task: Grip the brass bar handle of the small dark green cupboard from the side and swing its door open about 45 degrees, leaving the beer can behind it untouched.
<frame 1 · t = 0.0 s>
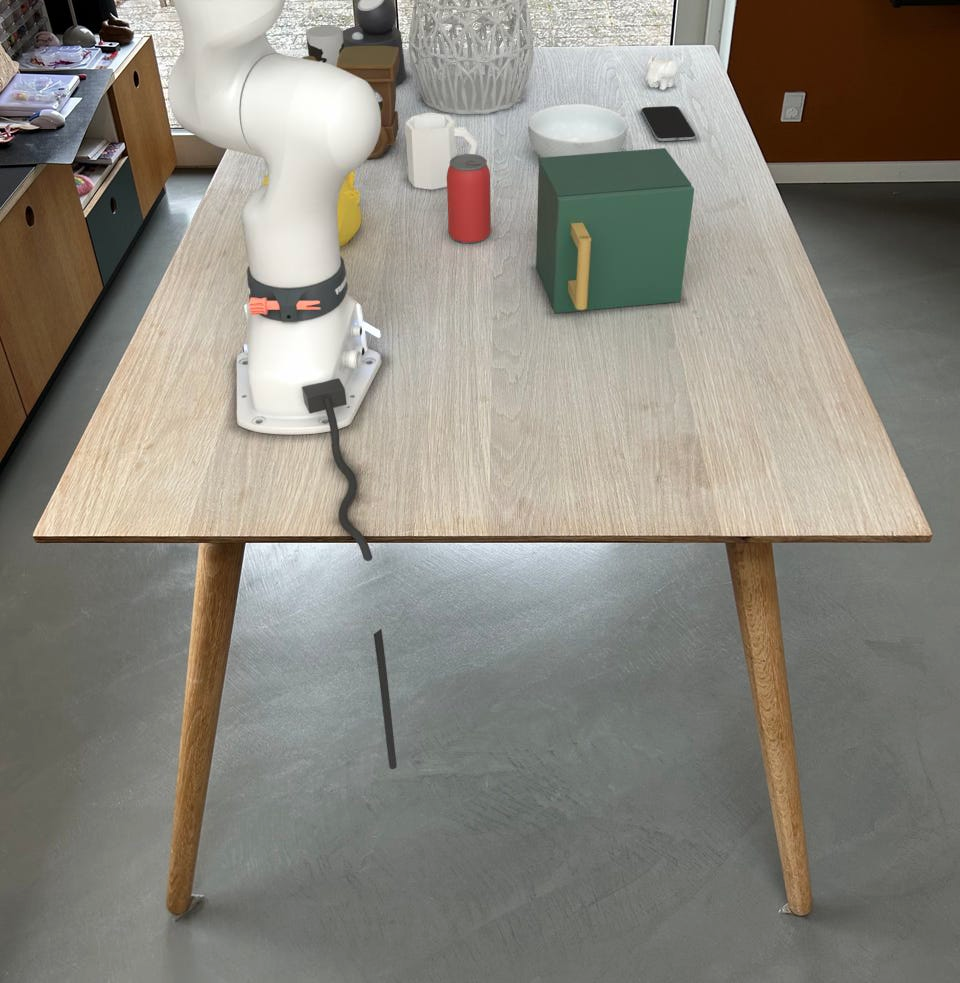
cup: (332, 112, 203), on the table
elephant figurine: (660, 88, 211), on the table
vase: (472, 97, 209), on the table
mug: (443, 179, 179), on the table
light fixture: (372, 80, 217), on the table
smartphone: (667, 126, 196), on the table
door: (626, 260, 139), point 8 cm above the table, hinge at 0.0°
wooden toy train: (347, 149, 189), on the table
cereal bowl: (575, 162, 184), on the table
teapot: (323, 236, 164), on the table
beer can: (469, 236, 163), on the table
cupboard: (604, 282, 151), on the table
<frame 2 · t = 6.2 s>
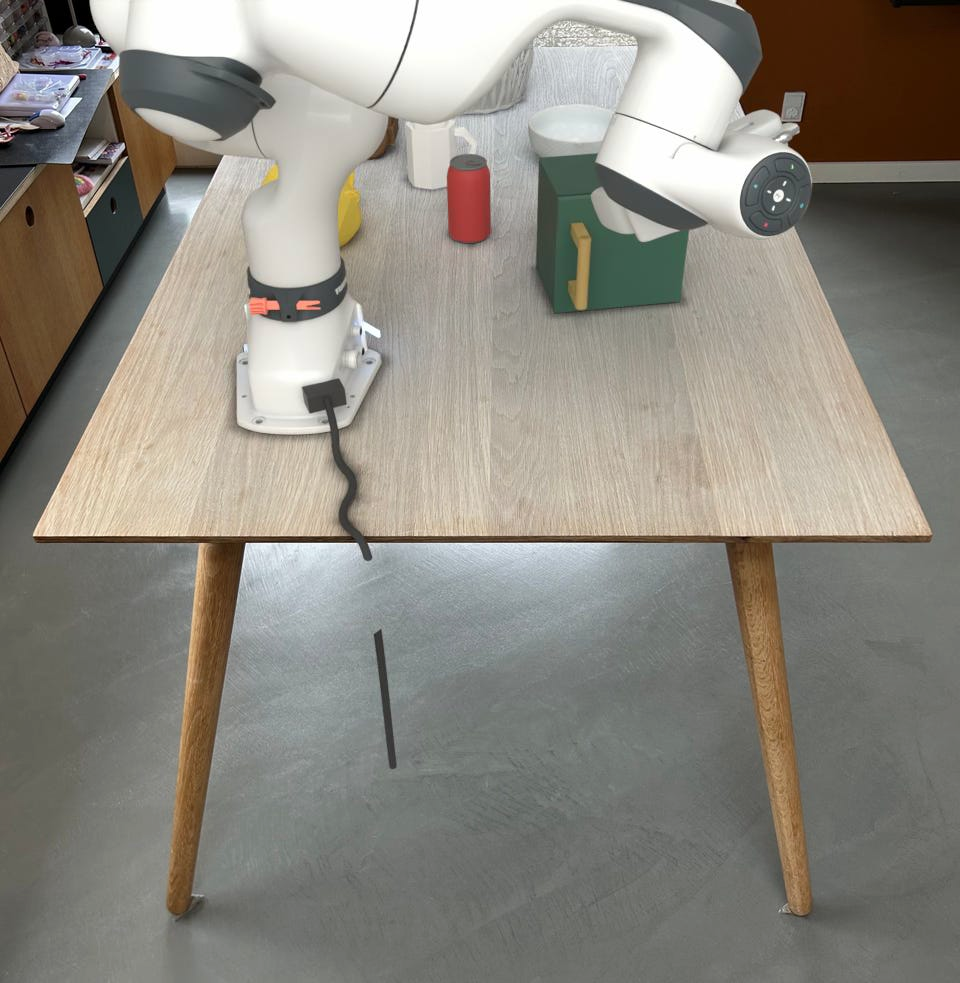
hand: (664, 162, 114), 28 cm above the table, tool tilted 75°, fingers open, 8 cm apart
nothing on the table moved.
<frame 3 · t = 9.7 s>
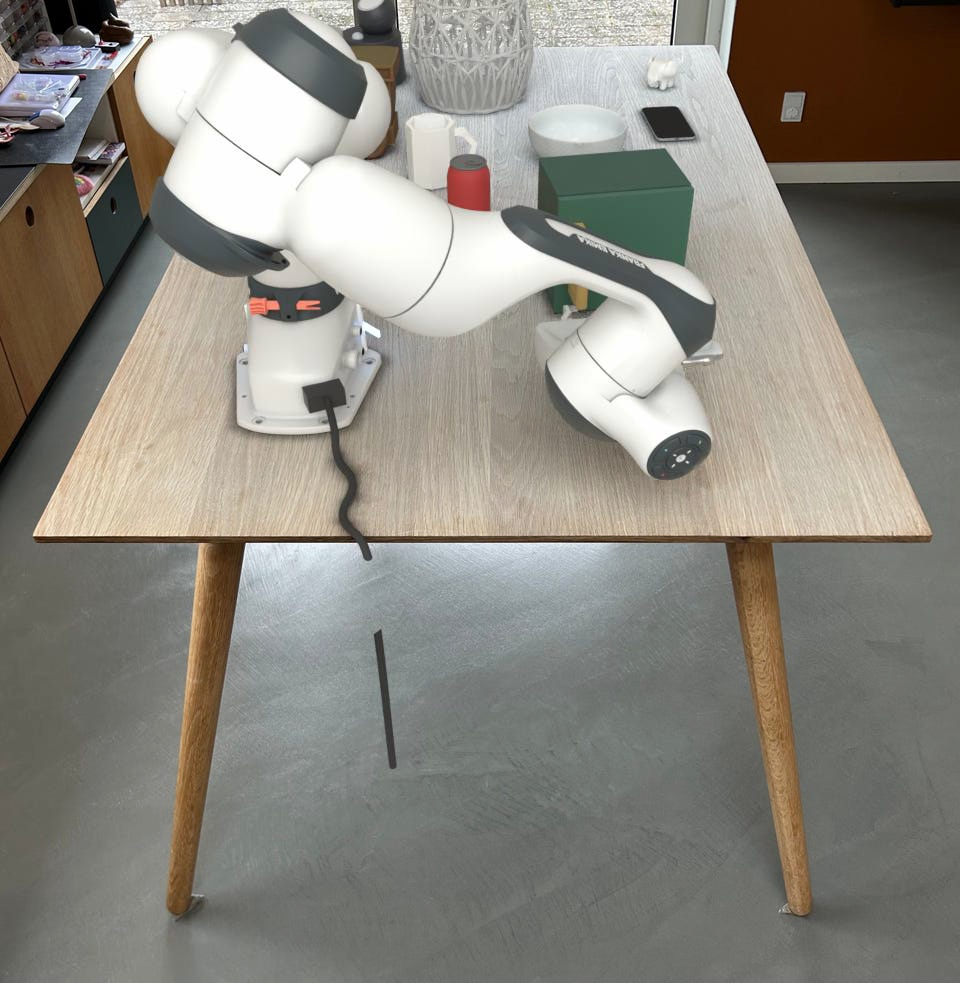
hand: (607, 306, 125), 11 cm above the table, tool horizontal, fingers open, 8 cm apart
nothing on the table moved.
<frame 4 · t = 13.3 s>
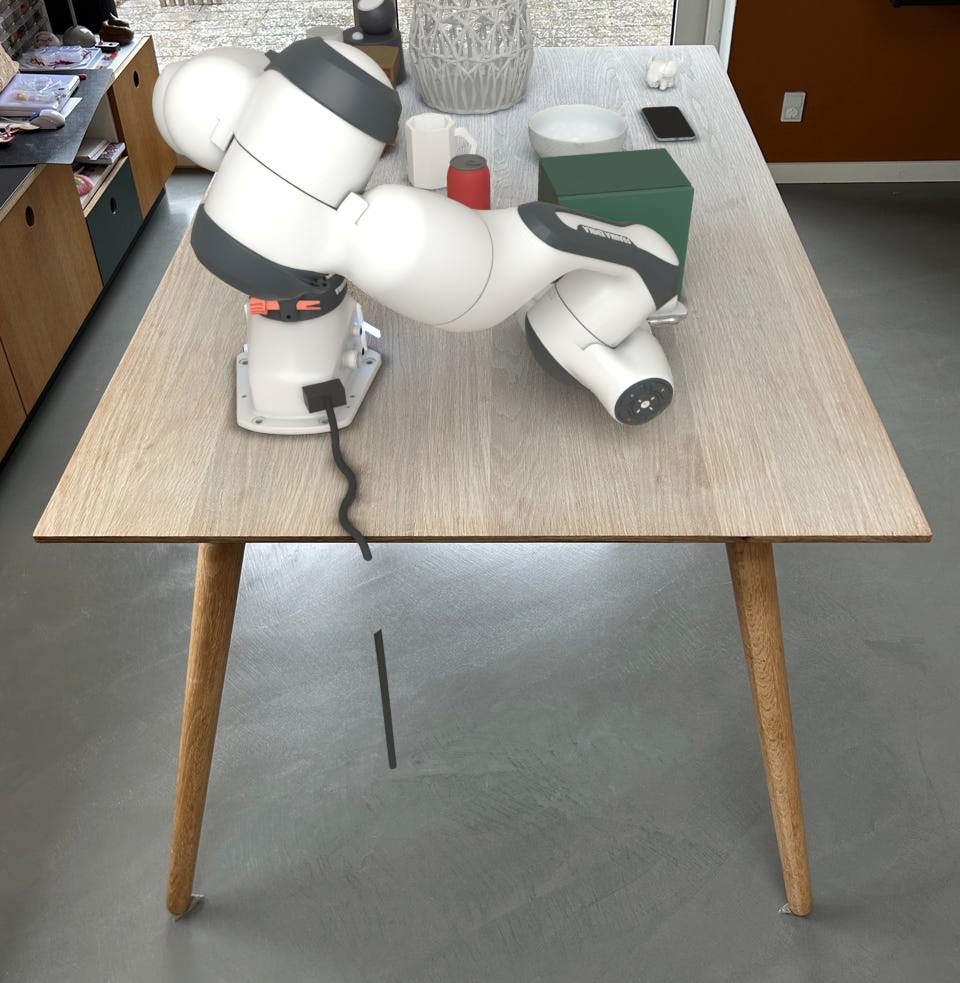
hand: (582, 273, 136), 8 cm above the table, tool horizontal, fingers closed on door, 2 cm apart
door: (626, 260, 139), point 8 cm above the table, hinge at 0.0°, touching gripper
everything else where it was.
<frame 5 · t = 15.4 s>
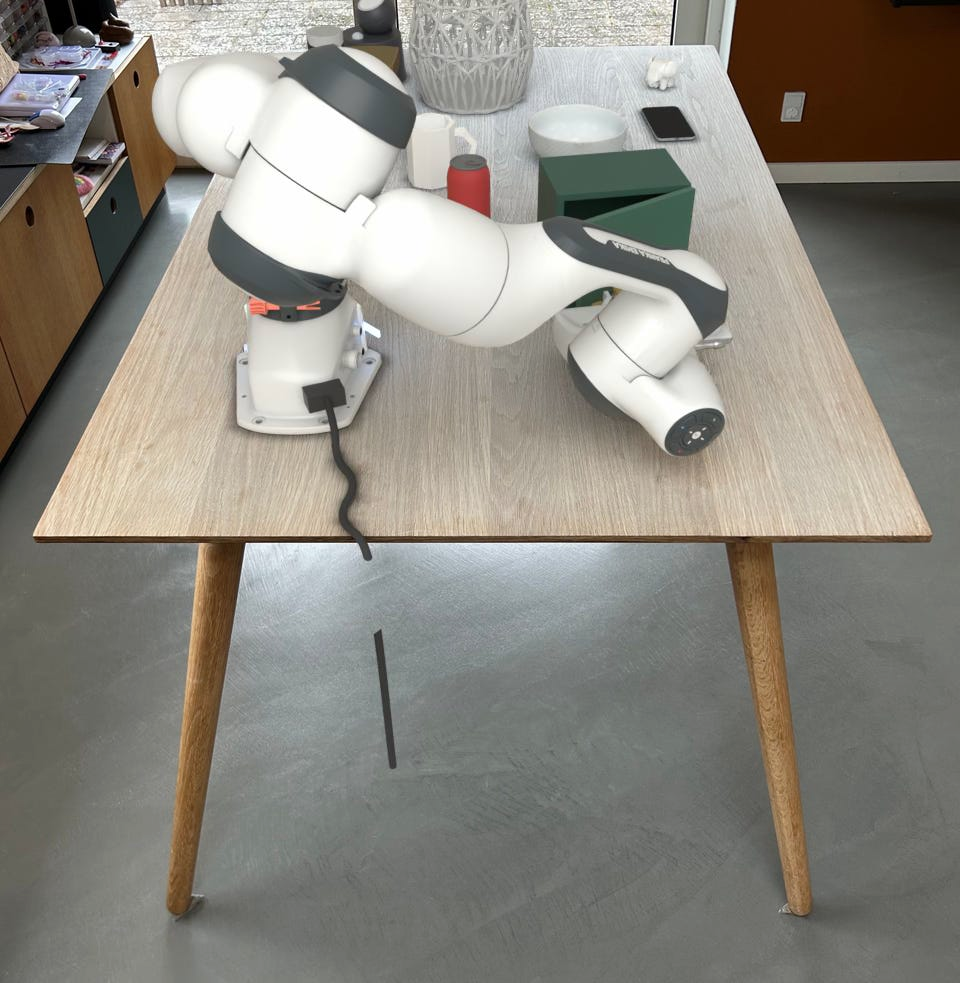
hand: (620, 294, 132), 9 cm above the table, tool horizontal, fingers closed
door: (647, 271, 136), point 8 cm above the table, hinge at 23.8°, touching gripper
everything else where it was.
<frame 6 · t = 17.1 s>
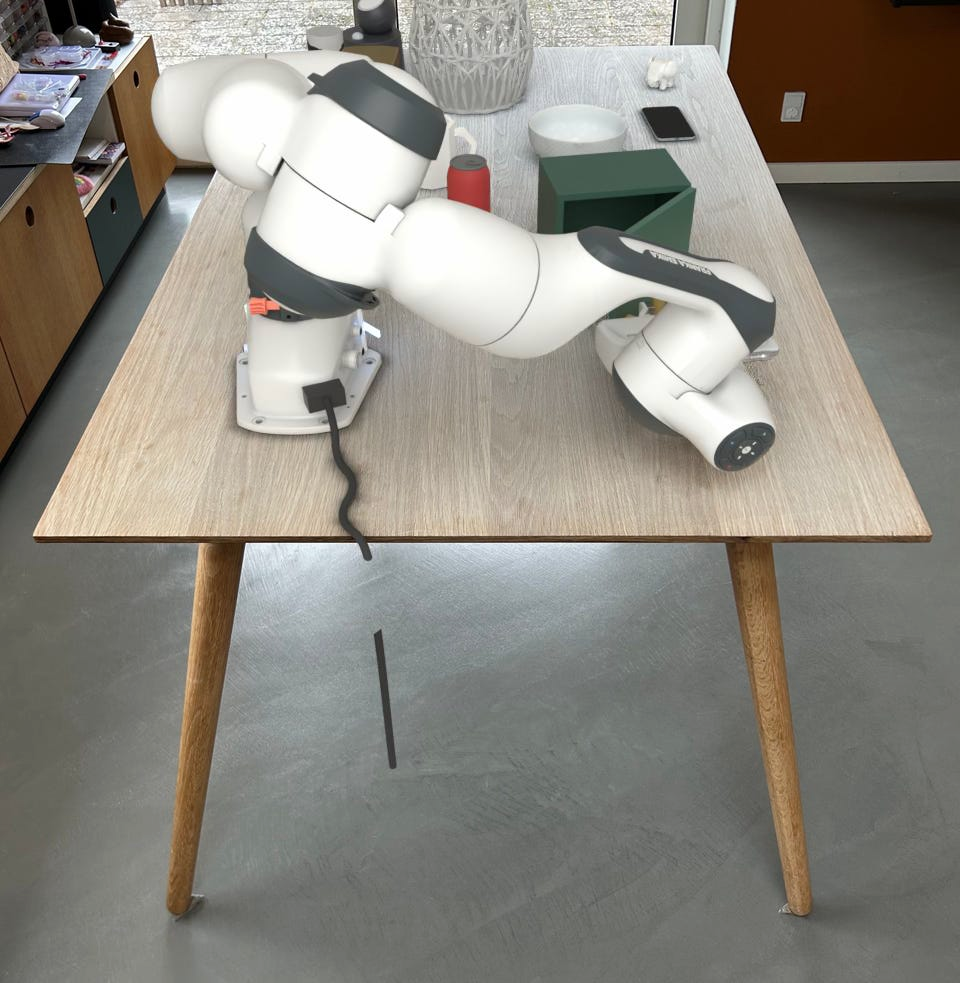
hand: (663, 304, 130), 8 cm above the table, tool horizontal, fingers open, 3 cm apart
door: (668, 277, 135), point 9 cm above the table, hinge at 42.6°
everything else where it was.
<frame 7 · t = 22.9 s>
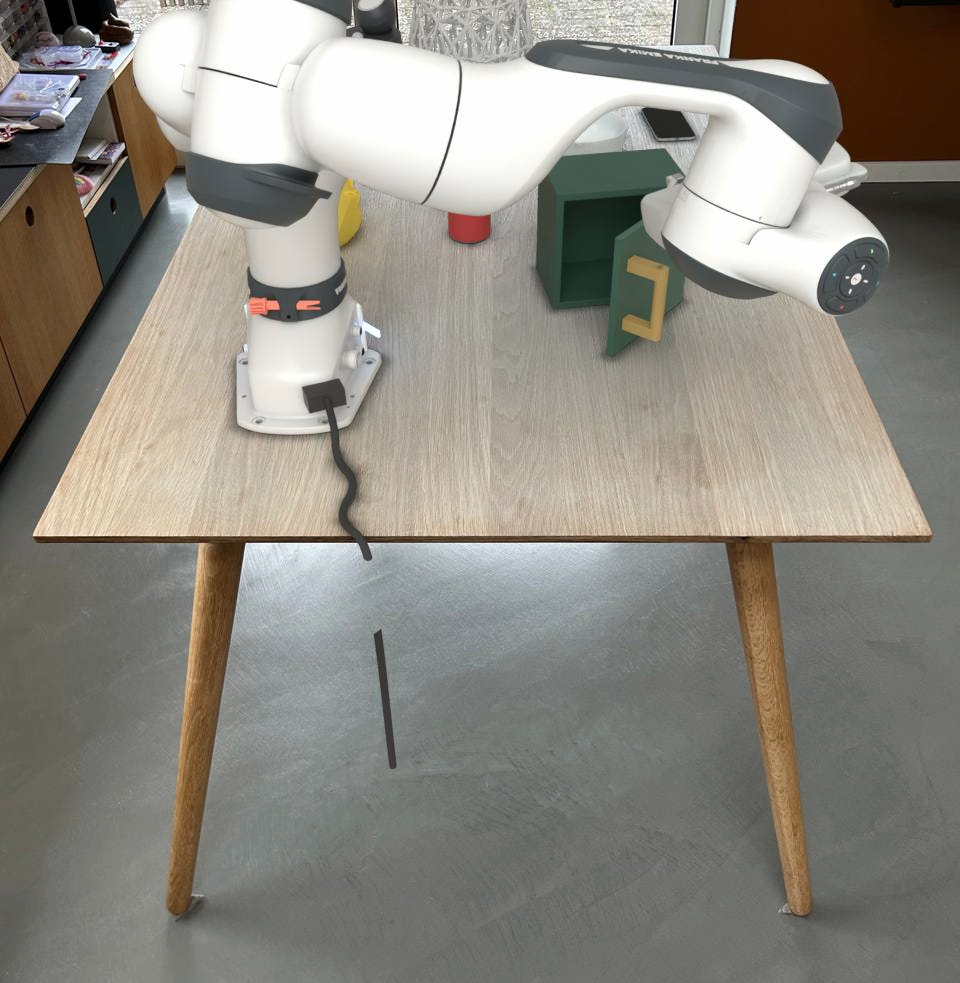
hand: (715, 167, 109), 30 cm above the table, tool horizontal, fingers open, 8 cm apart
nothing on the table moved.
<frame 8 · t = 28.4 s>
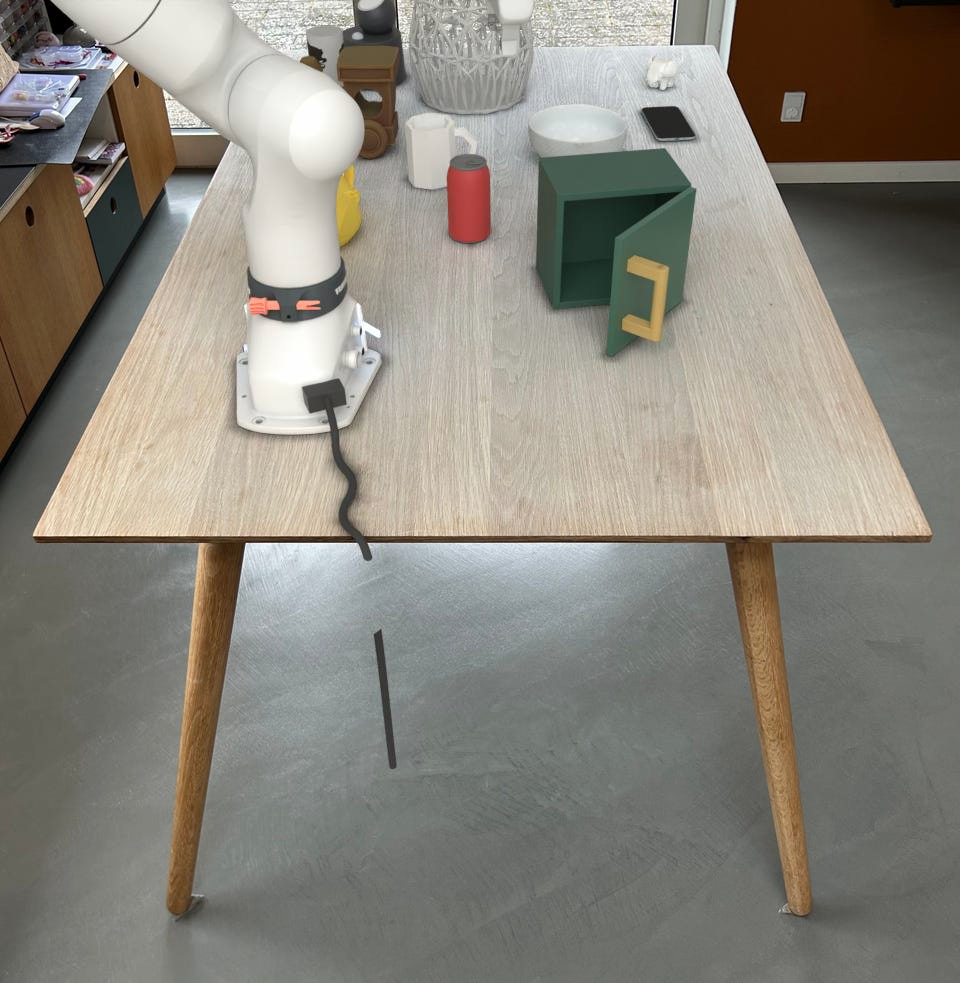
hand: (501, 41, 129), 34 cm above the table, tool pointing down, fingers open, 8 cm apart
nothing on the table moved.
at the end: door at +43° (first picture: +0°); beer can moved 0.2 cm from its start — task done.
